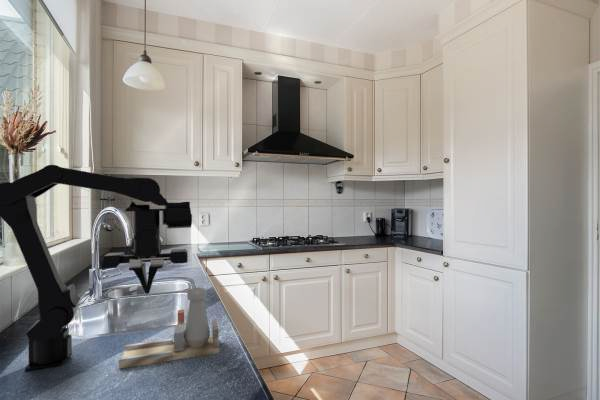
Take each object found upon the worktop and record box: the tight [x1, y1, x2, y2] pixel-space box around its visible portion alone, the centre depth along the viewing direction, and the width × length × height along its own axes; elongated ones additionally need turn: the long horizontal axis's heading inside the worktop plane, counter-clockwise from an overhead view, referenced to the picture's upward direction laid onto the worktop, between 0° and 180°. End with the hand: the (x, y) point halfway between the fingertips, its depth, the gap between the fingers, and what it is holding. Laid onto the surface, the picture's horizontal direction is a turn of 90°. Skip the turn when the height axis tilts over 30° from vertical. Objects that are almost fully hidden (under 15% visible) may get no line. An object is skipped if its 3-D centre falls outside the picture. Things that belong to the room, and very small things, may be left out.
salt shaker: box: [184, 287, 211, 349], centre depth 74 cm, size 6×6×13 cm
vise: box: [118, 318, 220, 369], centre depth 72 cm, size 20×7×5 cm, turn 109°
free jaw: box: [173, 309, 185, 352], centre depth 78 cm, size 2×16×4 cm, turn 19°
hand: (147, 293), depth 78 cm, fingers closed
